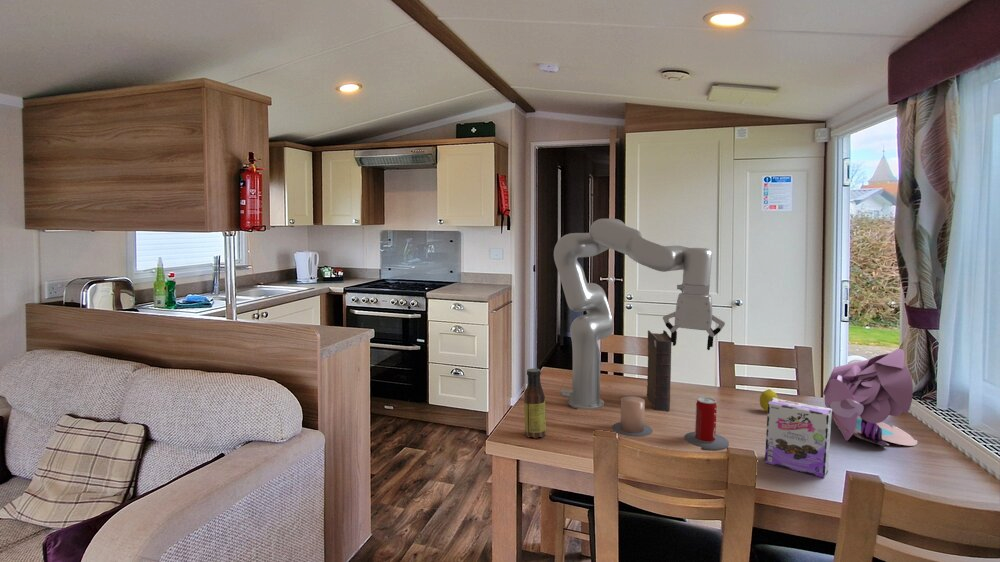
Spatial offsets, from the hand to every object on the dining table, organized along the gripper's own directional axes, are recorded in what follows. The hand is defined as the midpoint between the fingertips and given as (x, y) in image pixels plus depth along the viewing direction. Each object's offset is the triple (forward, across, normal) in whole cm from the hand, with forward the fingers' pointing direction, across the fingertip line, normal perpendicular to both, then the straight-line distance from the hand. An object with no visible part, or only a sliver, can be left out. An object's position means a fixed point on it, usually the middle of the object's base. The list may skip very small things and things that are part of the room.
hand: (691, 347), depth 157 cm
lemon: (+26, +24, +28) cm, 45 cm away
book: (+27, -11, +22) cm, 37 cm away
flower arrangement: (+25, +52, +21) cm, 61 cm away
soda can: (+26, +6, -6) cm, 27 cm away
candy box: (+25, +28, -13) cm, 40 cm away
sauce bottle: (+28, -40, -22) cm, 54 cm away
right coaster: (+26, +6, -6) cm, 27 cm away
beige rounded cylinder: (+26, -15, -6) cm, 31 cm away
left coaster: (+27, -15, -6) cm, 31 cm away
